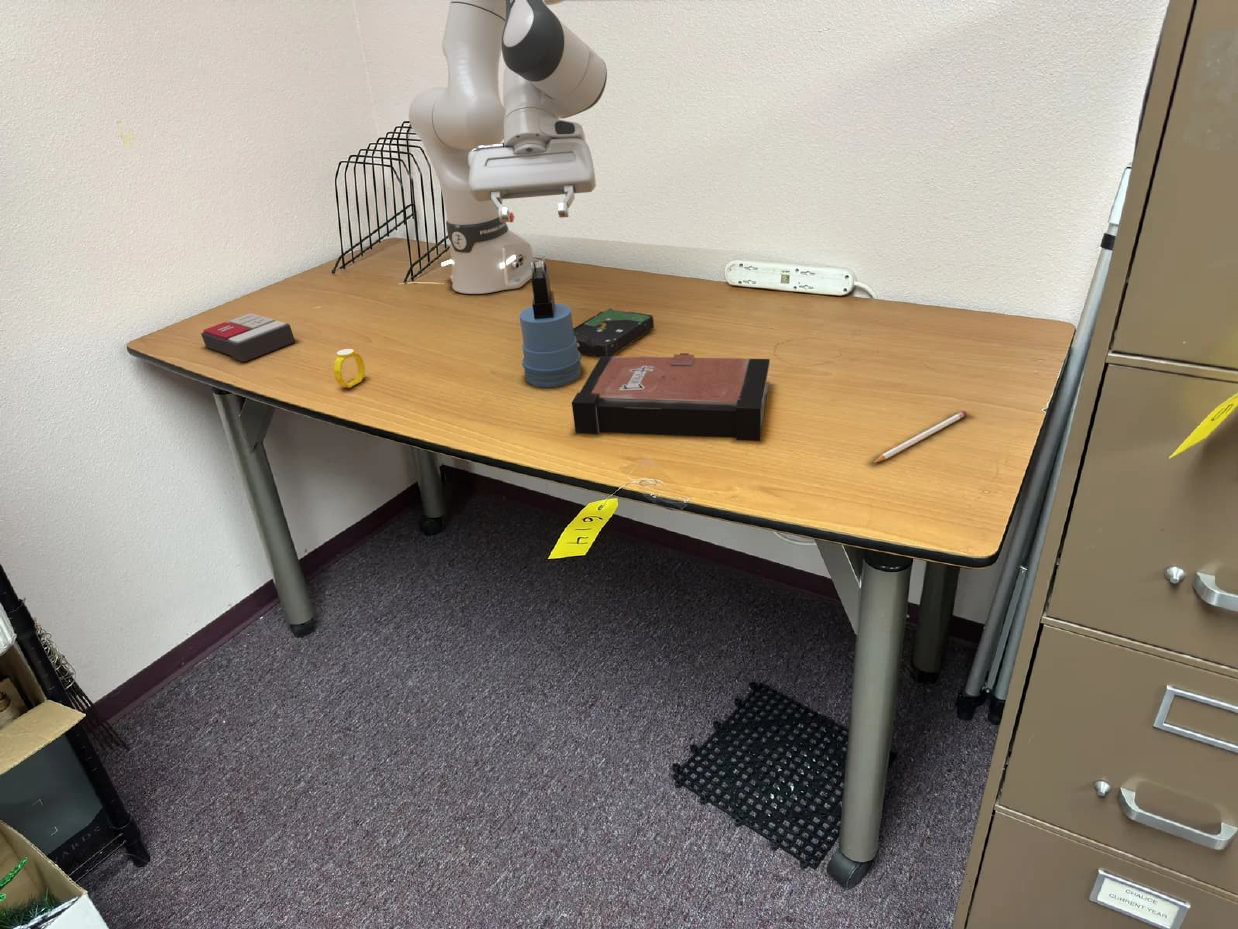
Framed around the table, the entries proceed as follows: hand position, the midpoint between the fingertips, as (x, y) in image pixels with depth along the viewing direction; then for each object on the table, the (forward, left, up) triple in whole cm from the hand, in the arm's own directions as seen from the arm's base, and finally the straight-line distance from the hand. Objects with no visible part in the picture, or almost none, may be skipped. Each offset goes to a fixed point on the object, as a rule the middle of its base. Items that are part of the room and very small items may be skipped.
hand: (533, 217), depth 129 cm
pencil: (+6, +63, -24) cm, 68 cm away
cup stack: (+7, +5, -24) cm, 25 cm away
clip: (+7, +5, -13) cm, 15 cm away
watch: (+22, -26, -24) cm, 42 cm away
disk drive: (-9, +6, -24) cm, 26 cm away
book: (+10, +29, -24) cm, 39 cm away
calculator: (+16, -60, -24) cm, 67 cm away
